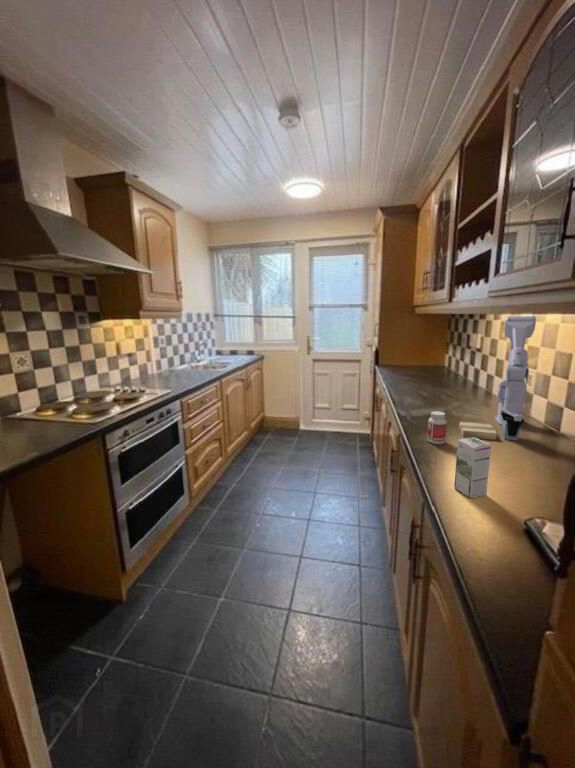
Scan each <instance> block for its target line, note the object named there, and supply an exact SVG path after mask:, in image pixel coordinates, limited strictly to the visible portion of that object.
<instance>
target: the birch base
mask: <svg viewBox="0 0 575 768" xmlns="http://www.w3.org/2000/svg"><path fill="white" fill-rule="evenodd" d="M458 427H459V430H460V433H461V435H462V437H463V438H468V437H475V438H477V439H485V440H493V441H494V440H495V441H496V440H497V437H498V432H497V431H496V430H495V428H494V426H493V425H492V424H491V423H487V422H486V423H483V422H472V421H470V422H469V421H459V426H458Z"/></svg>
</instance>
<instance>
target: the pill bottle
mask: <svg viewBox="0 0 575 768" xmlns="http://www.w3.org/2000/svg"><path fill="white" fill-rule="evenodd" d="M430 412H431V413H430V417H429V418H428V420H427V438H426V440H427V441H429V442H428V443H430V442H431V443H430V444H433V443H434V445H443V444H445V443H446V439H447V438H446V437H447V436H446V435H447V420H446V413H445V412H443V411H434V410H433V411H430Z"/></svg>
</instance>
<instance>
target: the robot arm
mask: <svg viewBox="0 0 575 768" xmlns="http://www.w3.org/2000/svg"><path fill="white" fill-rule="evenodd" d="M536 323H537V317H536V316H535V315H532V316H531V315H530V316H529V315H526V316H523V315H521V316H517V315H515V316H509V315H508V316H507V317H505V322H504V337H505V338H507V339H509V341H510V348H509V353H508V364H507V367H506V372H505V379H503V380H500V381H499V383H498V387H497V398H496V399H497V400H498V401H499V403H498V407H497V416H494V419H495V421H497V422H498V424H499V425H502V422H503V420H506V421H507V426H508V435H509V436H513V437H515V436H516V434H517V432H518V429H519V427H520V428H521V427H522V426H523V423H525V418H522V417H523V414H524V413H523V412H524V411H523V410H524V409H523V408H524V407H523V406H524V403H525V402H526V400H527V392H528V390H527V389H528V388H527V386H528V385H527V382H528V380H529V375H530V374H529V373H530V369H529V364H528V359H529V357H528V356H529V352H528V351H527V349H525V346H526V340H527V339H529V338H530V339H531V338H532V336H533V335H534V332H535V330H536ZM521 425H522V426H521Z"/></svg>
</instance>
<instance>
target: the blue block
mask: <svg viewBox="0 0 575 768" xmlns="http://www.w3.org/2000/svg"><path fill="white" fill-rule="evenodd" d="M520 429H521V426H520V427H519V429H518V432H517V434H516V436H515V437H513V436H509V435H508V426H507V421H506V420H503V422H502V424H501V434H500V435H502V436H501V437H502V439H503V438H504V439H503V440H506V439H507V441H508V440H509V441H519V440H520V439H519V437H520Z"/></svg>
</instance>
